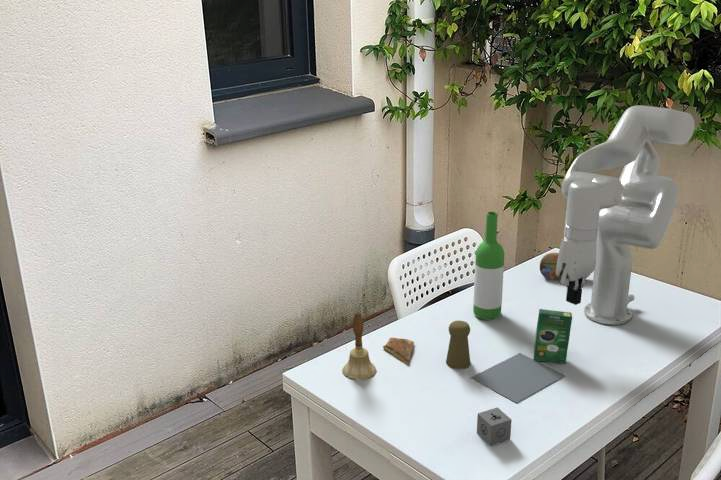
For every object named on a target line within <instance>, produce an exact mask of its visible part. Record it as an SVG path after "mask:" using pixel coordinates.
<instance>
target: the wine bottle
mask: <svg viewBox="0 0 721 480" xmlns="http://www.w3.org/2000/svg"><path fill="white" fill-rule="evenodd" d="M498 215H499V214H498V213H497V212H496V211H488V212H486V216H485V217H486V218H485V237H484V238H485V239H484V240H483V241H482V242H481V243H480V244H479V245H478V246H477V249H476V252H475V259H474V260H475V261H474V278H473V281H474V282H473V283H474V284H473V303H472V304H473V307H472V311H473V314H474V315H475V317H476V318H478V319H481V320H482V319H483V320H495V319H498V318H499V317H500V316H501V314H502V306H503V305H502V304H503V290H504V289H503V287H504V286H503V285H504V270H505V250H504V248H503V246H502V245H501V243H500V242H498V240H497V237H498V236H497V235H498V233H497V232H498Z"/></svg>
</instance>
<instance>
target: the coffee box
mask: <svg viewBox="0 0 721 480" xmlns="http://www.w3.org/2000/svg"><path fill="white" fill-rule="evenodd" d="M572 314H573V313H572V312H570V311H561V310H560V311H559V310H554V309H553V310H551V309H545V308H544V309H543V308H539V309H538V317H537V323H536V331H535V339H534V348H533V359H534V360H536V361H538V362H550V363H557V364H566V362H567V357H568V348H569V344H570V337H571V329H572V321H573V315H572Z"/></svg>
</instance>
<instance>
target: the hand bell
mask: <svg viewBox="0 0 721 480" xmlns="http://www.w3.org/2000/svg"><path fill="white" fill-rule="evenodd" d="M352 330H353V333H354V337H355V338H354V339H355V340H354V342H355V343H354V345H355V347H354V348H352V349H351V350H350V351H349V357H348V361H347V363H345V364H344V366H343V367H342V369H341V370H342V374H343V375H344V376H345V377H346V376H347V377H346V378H348V377H349V379H350V378H353V379H352V380H355V379H363V380H366V379H365V378H368V379H370V378H372V377H373V376H375V375H376V373H377V367H376V366H375V365H374V363H372V361H371V359H370V356H369V350H368V349H367V348H365V347H363V339H362V338H363V337H362V336H363V332H364V319H363V317H362V313H361V312H360V311H355V312H354V316H353V319H352ZM374 374H375V375H374Z"/></svg>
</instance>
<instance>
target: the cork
mask: <svg viewBox="0 0 721 480" xmlns="http://www.w3.org/2000/svg"><path fill="white" fill-rule="evenodd" d="M470 333H471V327H470V324H469V323H468V322H466V321H465V320H464V321H463V320H454V321H451V323H450V324H449V326H448V334H449V335H450V337H449V343H448V349H447V353H446V358H445V359H446V360H445V364H446V365H447V367H449V368H452V369H455V370H464V369H467V368H468V367H470V366H471V356H470V347H469V346H470V345H469V338H468V337H469V336H470Z"/></svg>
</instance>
